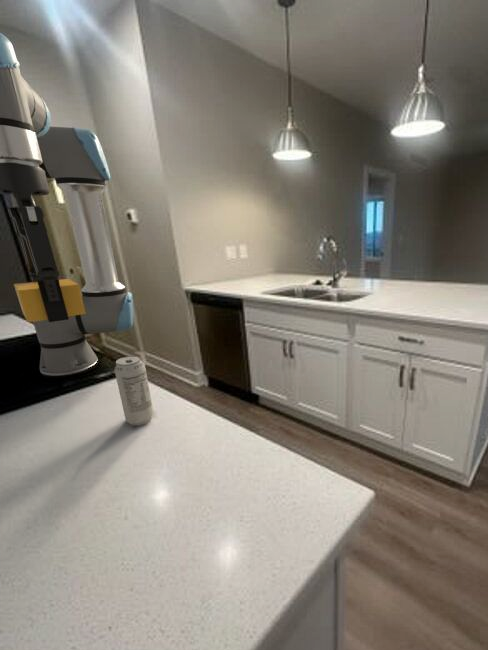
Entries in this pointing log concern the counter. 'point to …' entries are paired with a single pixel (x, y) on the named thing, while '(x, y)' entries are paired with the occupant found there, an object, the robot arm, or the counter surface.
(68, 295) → the block
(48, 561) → the counter surface
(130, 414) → the energy drink can
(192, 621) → the counter surface
